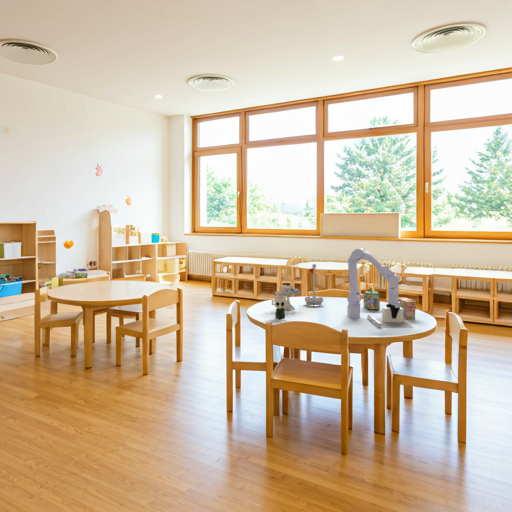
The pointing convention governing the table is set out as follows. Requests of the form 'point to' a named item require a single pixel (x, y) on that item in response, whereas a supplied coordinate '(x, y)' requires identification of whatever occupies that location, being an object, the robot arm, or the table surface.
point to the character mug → (280, 306)
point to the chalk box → (371, 299)
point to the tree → (288, 294)
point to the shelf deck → (393, 324)
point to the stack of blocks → (407, 307)
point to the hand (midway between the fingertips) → (392, 317)
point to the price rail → (374, 321)
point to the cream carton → (388, 315)
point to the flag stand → (313, 300)
